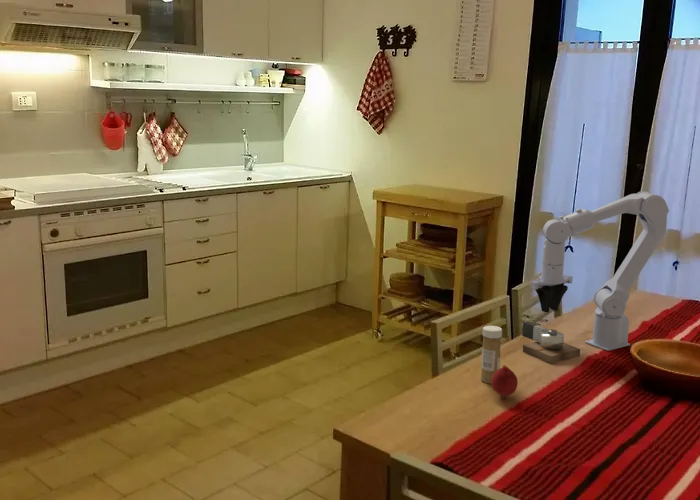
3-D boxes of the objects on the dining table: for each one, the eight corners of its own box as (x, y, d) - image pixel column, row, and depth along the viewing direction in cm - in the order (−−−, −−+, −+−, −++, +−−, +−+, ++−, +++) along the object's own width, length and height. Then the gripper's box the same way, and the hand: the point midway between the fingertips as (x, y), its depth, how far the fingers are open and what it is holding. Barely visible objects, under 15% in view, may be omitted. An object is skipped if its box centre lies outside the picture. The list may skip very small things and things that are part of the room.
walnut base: (551, 345, 194) (551, 337, 194) (579, 356, 186) (580, 348, 185) (522, 351, 189) (523, 344, 188) (550, 363, 180) (551, 355, 180)
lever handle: (568, 347, 186) (569, 332, 185) (552, 351, 183) (553, 335, 182) (532, 333, 197) (533, 319, 196) (516, 337, 193) (517, 322, 193)
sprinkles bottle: (503, 381, 168) (506, 328, 165) (489, 385, 166) (492, 332, 163) (489, 375, 172) (492, 323, 169) (476, 379, 169) (478, 326, 167)
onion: (517, 394, 161) (519, 361, 159) (515, 404, 156) (517, 370, 154) (492, 390, 163) (494, 358, 161) (488, 400, 158) (490, 367, 156)
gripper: (560, 257, 198) (556, 303, 201) (523, 263, 191) (520, 310, 194) (579, 262, 192) (575, 309, 195) (542, 268, 185) (539, 317, 188)
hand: (549, 310), depth 194 cm, fingers open, 3 cm apart
